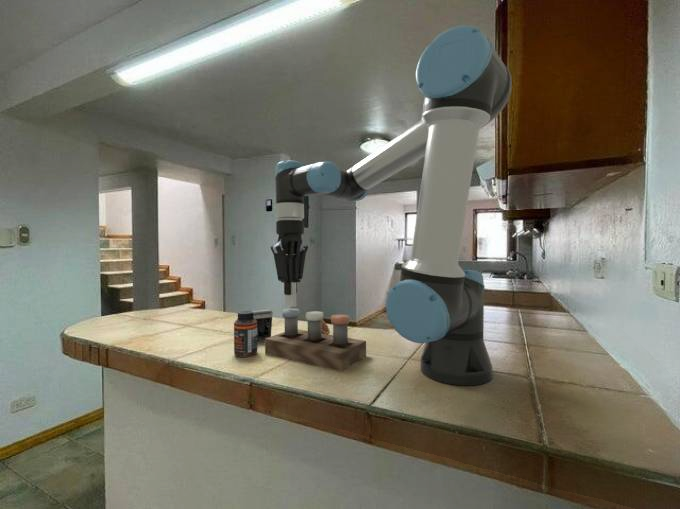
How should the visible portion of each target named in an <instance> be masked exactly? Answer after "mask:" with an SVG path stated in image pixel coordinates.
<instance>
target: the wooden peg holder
mask: <svg viewBox="0 0 680 509" xmlns="http://www.w3.org/2000/svg"><path fill="white" fill-rule="evenodd" d="M264 351H265V352H264V354H266V355H271V356H274V357H279V358H283V359H286V360H292V361H296V362H300V363H304V364H310V365H311V366H312V365H313V366H315V367H316V366H317V367H321V368H326V369H329V370H334V371H338V372H343V371H345V370H346V369H348V368H350V367H351V366H353V365H354V364H355V363H357V362H359V361H361V360H362V359H364V358H366V357H367V340H363V339H357V338H351V337H348V343H347V344H342V345H338V344H334V343H333V334H322V338H321V339H318V340H311V339H308V330H305V329H304V330H303V329H298V334H296V335H285V331H284V332H281V333H278V334H275V335H271V337H268V338H265V340H264Z"/></svg>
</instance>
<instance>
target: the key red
mask: <svg viewBox="0 0 680 509" xmlns="http://www.w3.org/2000/svg"><path fill="white" fill-rule="evenodd" d="M350 317H351V316H350V315H348V314H333V315H331V316H330V323H331V324H332V330H333V331H332V332H333V333H332V335H333V343H334V344H338V345H342V344H347V343H348V338H349V337H348V334H349V332H348V327H349V326H348V324H350Z"/></svg>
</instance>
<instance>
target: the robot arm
mask: <svg viewBox="0 0 680 509" xmlns="http://www.w3.org/2000/svg"><path fill="white" fill-rule="evenodd" d="M415 70H416V71H415V80H416V84H417V87H418V89H419V92H421V94H422V95H423V96H424V98H423V105H422V112H421V120H418V121H417V122H416V123H415V124H413V125H411V126H410V127H408V128H407V129H406V130H404V131H403V132H401V133H400V134H398V135H397V136H395V137H394V138H393V139H392V140H390V141H388V142H386V143H385V144H384V145H382V146H381V147H379V148H378V149H376V150H375V151H374V152H373V153H371V154H369V155H368V156H366V157H365V158H363V159H362V160H360V161H359V162H357V163H356V164H354V165H353V166H351V167H349V168H348V169H347V170H342V169H339V167H338V166H336V164H335V163H334V162H333V161H317V162H315V163H312V164H307V165H305V166H304V164H303V163H302V162H301V161H297V160H282V161H279V162H278V163H277V164H276V166H275V177H274V179H275V210H276V211H275V217H276V219H277V221H276V222H275V232H276V235H278V237H277V243H276V244H274V245H271V246H270V250H271V252H272V255H273V259H274V265H275V269H276V275H277V280H278V281H279V282H280V283H283V289H284V290H283V293H284V297H285V298H284V300H285V301H284V302H285V303H284V304H285V307H289V308H294V307H297V294H298V283H300V282H301V281H302V279H303V277H304V268H305V262H306V254H307V252H308V249H309V246H308V245H305V244H303V238H302V235H304V234H305V222H304V221H303V220H304V218H305V200H304V198H305V197H308V196H321V197H327V198H336V199H342V200H346V201H351V202H356V201H357V202H358V201H361V200H364V199H366V196H367V195H368V194H369V191H370V189H372V188H373V187H375V186H376V185H378V184H380V183H382V182H383V181H385V180H387V179H389V178H391V177H392V176H393V175H396V174H397V173H399V172H400V171H401V170H404V169H406V168H407V167H409V166H410V165H413V164H414V163H416V162H417V161H420V160H421V159H422V158H424V160H423V168H422V177H421V181H420V182H421V183H420V188H419V189H420V190H419V191H420V192H419V199H418V204H417V205H418V206H417V212H416V219H415V226H414V234H413V241H412V247H411V256H410V258H409V259H408V260H406V261H405V262H404V263H402V264H401V267H400V268H401V270H400V276H399V277H400V278H399V281H398V282H396V283H395V285H393V287H391V288H390V290H389V292H388V293H387V295H386V300H385V312H386V315H387V319H388V322H389V323H390V324H391V325H392V327H393V328H394V330H395V331H396V333H398V335H399V336H401V338H403V339H404V340H405V339H406V340H407V341H410V342H412V343H416V344H425V345H424V347H423V351H422V354H421V357H420V371H421V372H422V374H423V375H425V376H426V377H427V378H430V379H432V380H435V381H437V382H441V383H445V384H450V385H455V386H456V385H457V386H478V385H482V384H486V383H489V382H490V381H492V379H493V365H492V362H491V359H490V356H489V353H488V350H487V346H486V344H485V341H484V340H485V339H484V327H485V326H484V325H485V324H484V322H485V321H484V315H485V314H484V313H485V310H484V307H485V303H484V301H485V298H484V297H485V296H484V295H485V292H484V291H485V289H486V286H485V282H484V276H483V274H482V273H481V272H480V271H478V270H473V269H463V268H462V267H461V266H460V265H459V259H460V252H461V248H462V247H461V246H462V240H463V234H464V227H465V220H466V216H467V215H466V214H467V209H468V204H469V203H468V201H469V194H470V190H471V189H470V188H471V183H472V175H473V169H474V165H475V157H476V152H477V151H476V150H477V144H478V138H479V131H480V130H481V129H482V128H485V127H486V125H488V124H490V122H492V121H494V119H495V118H496V117H498V116H499V115H500V113H501V112H502V111H503V109H504V108H505V107H506V105H507V103H508V101H509V99H510V96H511V92H512V84H513V83H512V74H511V72H510V70H509V68H508V67H507V66H506V64H505V63H504V62H503V60H502V59H501V57H500V55H499V54H498V52H497V51H496V49H495V47H494V46H493V44H492V42H491V40H490V38H489V37H488V36H487V35H486V34H484V33H483V32H482V31H481V30H480V29H478V28H477V27H475V26H473V25H466V24H462V25H457V26H453V27H450V28H448V29H446V30H445V31H442V32H441V33H440V34H438V35H437V36H436V37H435V38H433V40H432V42H431V43H430V44H428V45H427V46H426V47H425V49H424V50H423V52H422V53H421V55H420V57H419V60H418V63H417V66H416V69H415Z"/></svg>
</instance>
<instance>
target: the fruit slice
mask: <svg viewBox="0 0 680 509" xmlns="http://www.w3.org/2000/svg"><path fill="white" fill-rule="evenodd" d="M321 331H322V334H328V335H330V333H331V332H330V328H329V326H328V324H327V323H326V321H325V320H324V318H323V319H322V320H321Z"/></svg>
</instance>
